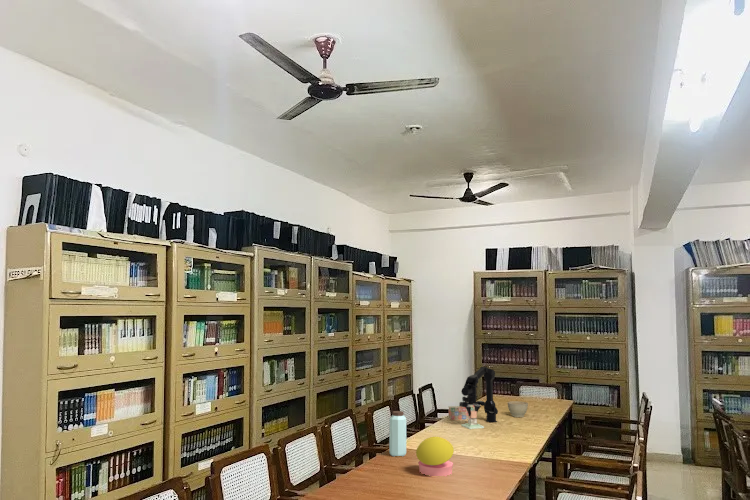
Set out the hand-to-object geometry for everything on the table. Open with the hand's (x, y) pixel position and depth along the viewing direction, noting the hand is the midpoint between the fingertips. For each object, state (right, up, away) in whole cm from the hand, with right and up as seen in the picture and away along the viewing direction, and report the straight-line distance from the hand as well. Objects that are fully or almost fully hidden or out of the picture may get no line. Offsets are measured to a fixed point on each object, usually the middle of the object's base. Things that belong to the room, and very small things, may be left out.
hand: (472, 415), depth 423 cm
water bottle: (-58, 0, -83) cm, 101 cm away
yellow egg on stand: (-40, +4, -118) cm, 125 cm away
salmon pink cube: (0, -1, 0) cm, 1 cm away
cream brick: (0, -7, -1) cm, 7 cm away
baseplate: (0, -8, -1) cm, 8 cm away
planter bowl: (+44, -13, +42) cm, 62 cm away
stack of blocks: (-2, -12, +31) cm, 34 cm away
